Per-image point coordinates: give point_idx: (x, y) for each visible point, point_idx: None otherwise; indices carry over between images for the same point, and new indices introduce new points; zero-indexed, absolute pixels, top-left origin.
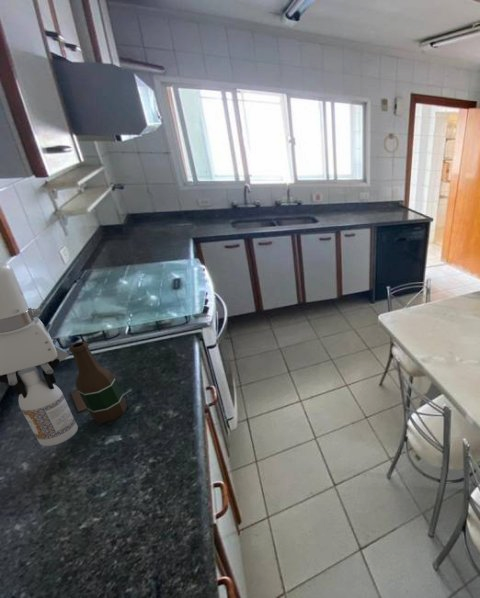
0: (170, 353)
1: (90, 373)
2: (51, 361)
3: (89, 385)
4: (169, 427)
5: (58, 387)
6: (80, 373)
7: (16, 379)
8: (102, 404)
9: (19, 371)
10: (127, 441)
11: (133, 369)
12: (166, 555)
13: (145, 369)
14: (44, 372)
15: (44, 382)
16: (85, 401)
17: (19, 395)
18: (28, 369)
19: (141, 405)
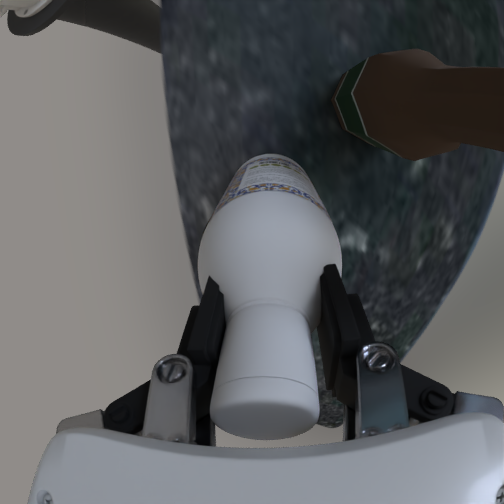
0: (489, 9)
1: (443, 143)
2: (411, 410)
3: (403, 150)
4: (426, 273)
5: (341, 261)
6: (415, 106)
7: (213, 425)
8: (378, 146)
9: (220, 418)
10: (369, 263)
11: None
12: (328, 411)
13: (449, 16)
14: (339, 399)
15: (312, 329)
16: (347, 111)
17: (203, 291)
18: (273, 423)
19: (425, 159)
